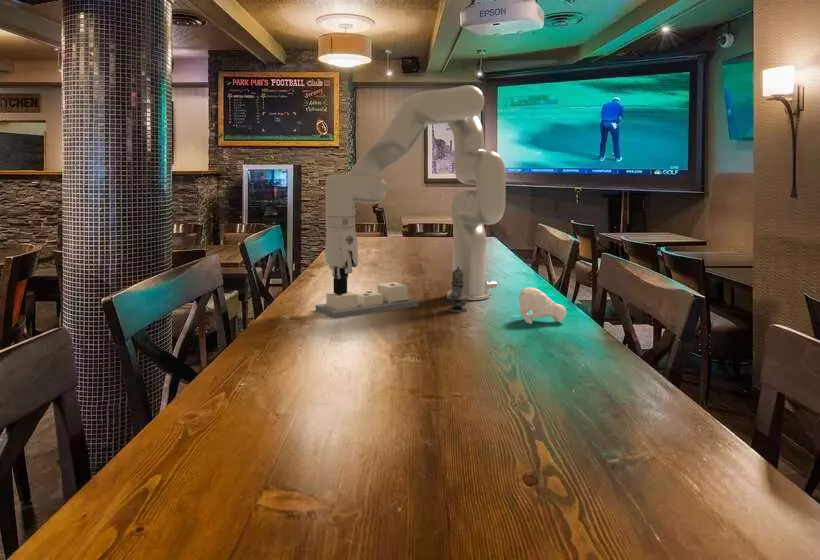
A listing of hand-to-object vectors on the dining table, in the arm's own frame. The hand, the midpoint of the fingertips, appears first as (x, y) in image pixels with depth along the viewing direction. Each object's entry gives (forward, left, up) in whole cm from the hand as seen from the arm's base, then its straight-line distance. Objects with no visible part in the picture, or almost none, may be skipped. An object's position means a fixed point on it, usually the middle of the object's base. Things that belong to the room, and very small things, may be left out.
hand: (340, 292), depth 162 cm
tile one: (-16, 0, -4) cm, 17 cm away
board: (-8, 0, -5) cm, 10 cm away
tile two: (-8, 0, -5) cm, 10 cm away
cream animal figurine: (-37, +37, -6) cm, 52 cm away
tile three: (0, 0, -4) cm, 4 cm away
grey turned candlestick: (-27, +15, -5) cm, 32 cm away
